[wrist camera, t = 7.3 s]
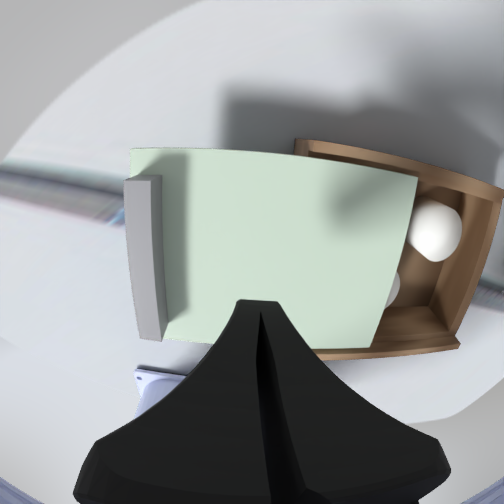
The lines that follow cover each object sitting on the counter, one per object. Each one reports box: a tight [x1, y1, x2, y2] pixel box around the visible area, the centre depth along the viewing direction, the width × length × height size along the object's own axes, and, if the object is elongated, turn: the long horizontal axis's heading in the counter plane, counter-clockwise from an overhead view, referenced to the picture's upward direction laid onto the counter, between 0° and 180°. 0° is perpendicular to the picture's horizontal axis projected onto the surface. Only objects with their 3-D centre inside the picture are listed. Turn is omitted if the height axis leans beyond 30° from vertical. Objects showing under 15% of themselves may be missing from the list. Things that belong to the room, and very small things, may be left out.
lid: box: [124, 148, 418, 349], centre depth 13 cm, size 14×10×2 cm
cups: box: [384, 196, 462, 309], centre depth 17 cm, size 9×4×3 cm, turn 130°
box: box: [293, 139, 504, 360], centre depth 16 cm, size 14×12×5 cm
